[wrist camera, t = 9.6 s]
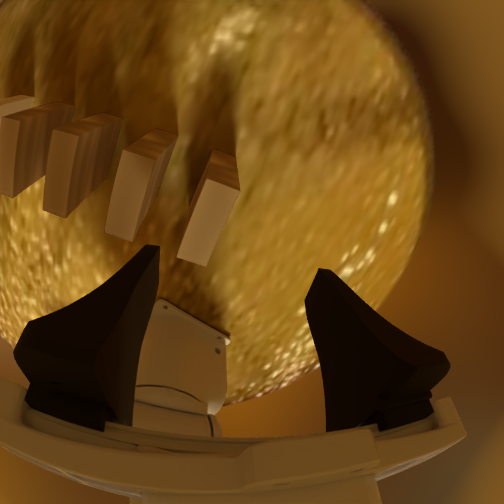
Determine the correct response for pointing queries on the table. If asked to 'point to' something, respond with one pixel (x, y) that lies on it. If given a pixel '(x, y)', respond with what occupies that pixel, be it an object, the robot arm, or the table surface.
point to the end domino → (15, 104)
